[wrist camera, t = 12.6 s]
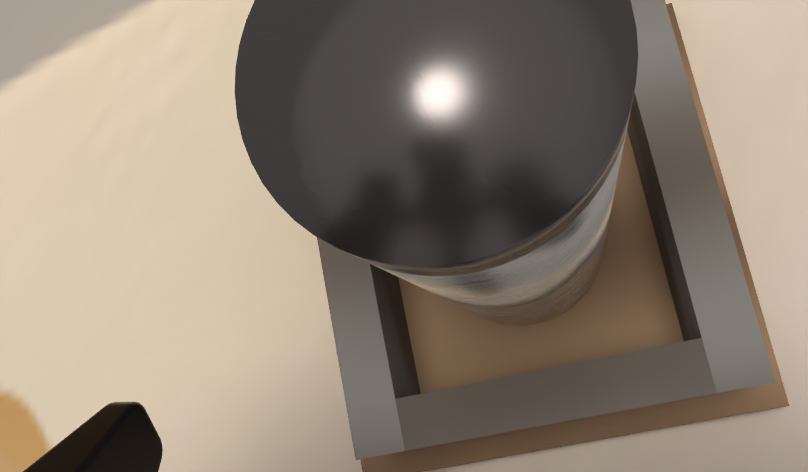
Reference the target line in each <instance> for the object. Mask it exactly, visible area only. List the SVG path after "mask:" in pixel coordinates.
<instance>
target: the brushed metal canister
mask: <svg viewBox="0 0 808 472" xmlns="http://www.w3.org/2000/svg"><path fill="white" fill-rule="evenodd" d="M637 66H638V42H637V28H636V23H635V18H634V14H633V9H632V4H631V1H630V0H255V1H254V4H253V6H252V8H251V11H250V13H249V15H248V18H247V20H246V23H245V27H244V30H243V34H242V37H241V41H240V44H239V51H238V57H237V63H236V74H235V98H236V109H237V118H238V122H239V126H240V130H241V135H242V139H243V142H244V145H245V147H246V150H247V152H248V155H249V158H250V160H251V163H252V165H253V166H254V168H255V170H256V172H257V174H258V175H259V177H260V179H261V181H262V183H263V184H264V186H265V187H266V188H267V190H268V191H269V192H270V194H271V195H272V196H273V198H274V199H275V200H276V202H277V203H278V204H279V205H280V206H281V207H282V208H283V209H284V210H285V211H286V212H287V213H288V214H289V215H290V216H291V217H292V218H293V219H294V220H295V221H296V222H297V223H299V224H300V225H301V226H303V227H304V228H305V229H307V230H308V231H309V232H311V233H312V234H313V235H315V236H316V237H318V238H320V239H322V240H324V241H325V242H327V243H329V244H331V245H333V246H334V247H336V248H338V249H340V250H342V251H345V252H347V253H349V254H351V255H353V256H355V257H357V258H359V259H361V260H364V261H366V262H368V263H370V264H372V265H374V266H376V267H378V268H380V269H383V270H385V271H387V272H389V273H391V274H393V275H395V276H397V277H400V278H402V279H404V280H406V281H408V282H410V283H412V284H414V285H416V286H419V287H421V288H423V289H425V290H427V291H429V292H431V293H433V294H435V295H438V296H440V297H442V298H444V299H446V300H448V301H450V302H452V303H455V304H457V305H459V306H461V307H463V308H465V309H467V310H469V311H471V312H474V313H476V314H478V315H480V316H482V317H484V318H487V319H489V320H492V321H495V322H499V323H503V324H510V325H530V324H536V323H540V322H544V321H547V320H550V319H552V318H554V317H557V316H559V315H561V314H562V313H564V312H566V311H567V310H569V309H570V308H571V307H572V306H574V305H575V304H576V303H577V302H578V301H579V300H580V299H581V298H582V297H583V296H584V295H585V293H586V292H587V291H588V289H589V288H590V287H591V285H592V283H593V281H594V279H595V277H596V275H597V273H598V270H599V267H600V264H601V259H602V255H603V250H604V245H605V240H606V235H607V229H608V224H609V219H610V214H611V209H612V204H613V199H614V194H615V189H616V183H617V178H618V173H619V168H620V163H621V158H622V153H623V148H624V143H625V137H626V132H627V127H628V122H629V117H630V112H631V107H632V102H633V97H634V91H635V86H636V78H637Z"/></svg>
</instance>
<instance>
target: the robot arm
mask: <svg viewBox="0 0 808 472" xmlns="http://www.w3.org/2000/svg"><path fill="white" fill-rule="evenodd" d="M161 459H162V443H161V439H160V437H159V435H158V433H157V431H156V429H155V427H154V426H153V424H152V422H151V420H150V418H149V416H148V414H147V412H146V410H145V408H144V407H143V406H142V405H141V404H140V403H138V402H114V403H110V404H108V405H107V406H105V407H104V408H103V409H101V410H100V411H99V412H97V413H96V414H95V415H94V416H92V417H91V418H90V419H89V420H87V421H86V422H85V423H84V424H82V425H81V426H80V427H79V428H77V429H76V430H75V431H74V432H72V433H71V434H70V435H69V436H67V437H66V438H65V439H64V440H62V441H61V442H60V443H58V444H57V445H56V446H55V447H53V448H52V449H51V450H50V451H48V452H47V453H46V454H45V455H43V456H42V457H41V458H40V459H38V460H37V461H36V462H35V463H33V464H32V465H31V466H30V467H28V468H27V469H26V470H25V471H23V472H158V470H159V467H160V463H161Z"/></svg>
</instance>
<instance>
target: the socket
mask: <svg viewBox="0 0 808 472" xmlns="http://www.w3.org/2000/svg"><path fill="white" fill-rule="evenodd" d="M630 1H631V4H632V9H633V14H634V18H635V23H636V28H637V42H638V66H637V78H636V86H635V91H634V97H633V102H632V107H631V112H630V117H629V122H628V127H627V132H626V137H625V143H624V148H623V153H622V158H621V163H620V168H619V173H618V178H617V183H616V189H615V194H614V199H613V204H612V209H611V214H610V219H609V224H608V229H607V235H606V240H605V245H604V250H603V255H602V259H601V264H600V267H599V270H598V273H597V275H596V277H595V279H594V281H593V283H592V285H591V287H590V288H589V289H588V291H587V292H586V293H585V295H584V296H583V297H582V298H581V299H580V300H579V301H578V302H577V303H576V304H575V305H574V306H572V307H571V308H570V309H569V310H567V311H566V312H564V313H562V314H561V315H559V316H557V317H554V318H552V319H550V320H547V321H544V322H540V323H536V324H530V325H510V324H503V323H499V322H495V321H492V320H489V319H487V318H484V317H482V316H480V315H478V314H476V313H474V312H471V311H469V310H467V309H465V308H463V307H461V306H459V305H457V304H455V303H452V302H450V301H448V300H446V299H444V298H442V297H440V296H438V295H435V294H433V293H431V292H429V291H427V290H425V289H423V288H421V287H419V286H416V285H414V284H412V283H410V282H408V281H406V280H404V279H402V278H400V277H397V276H395V275H393V274H391V273H389V272H387V271H385V270H383V269H380V268H378V267H376V266H374V265H372V264H370V263H368V262H366V261H364V260H361V259H359V258H357V257H355V256H353V255H351V254H349V253H347V252H345V251H342V250H340V249H338V248H336V247H334V246H333V245H331V244H329V243H327V242H325V241H324V240H322V239H320V238H318V237H317V240H318V246H319V251H320V257H321V263H322V268H323V274H324V280H325V286H326V291H327V297H328V303H329V309H330V314H331V320H332V326H333V332H334V337H335V343H336V349H337V355H338V360H339V366H340V372H341V377H342V383H343V389H344V395H345V400H346V406H347V412H348V418H349V423H350V429H351V435H352V441H353V446H354V452H355V458H356V460H359V459H361V464H362V470H363V472H422V471H428V470H433V469H439V468H445V467H450V466H456V465H461V464H467V463H472V462H478V461H484V460H489V459H495V458H500V457H506V456H511V455H517V454H523V453H528V452H534V451H539V450H545V449H550V448H556V447H562V446H567V445H573V444H578V443H584V442H589V441H595V440H601V439H606V438H612V437H617V436H623V435H628V434H634V433H640V432H645V431H651V430H656V429H662V428H667V427H673V426H678V425H684V424H690V423H695V422H701V421H706V420H712V419H717V418H723V417H729V416H734V415H740V414H745V413H751V412H756V411H762V410H768V409H773V408H779V407H784V406H789V403H788V400H787V397H786V393H785V390H784V386H783V383H782V379H781V376H780V373H779V369H778V366H777V362H776V359H775V356H774V352H773V349H772V345H771V342H770V338H769V335H768V332H767V328H766V325H765V321H764V318H763V314H762V311H761V308H760V304H759V301H758V297H757V294H756V290H755V287H754V284H753V280H752V277H751V273H750V270H749V266H748V263H747V260H746V256H745V253H744V249H743V246H742V242H741V239H740V236H739V232H738V229H737V225H736V222H735V218H734V215H733V212H732V208H731V205H730V201H729V198H728V194H727V191H726V188H725V184H724V181H723V177H722V174H721V170H720V167H719V164H718V160H717V157H716V153H715V150H714V146H713V143H712V140H711V136H710V133H709V129H708V126H707V122H706V119H705V116H704V112H703V109H702V105H701V102H700V98H699V95H698V92H697V88H696V85H695V81H694V78H693V74H692V71H691V68H690V64H689V61H688V57H687V54H686V50H685V47H684V44H683V40H682V37H681V33H680V30H679V27H678V23H677V20H676V16H675V13H674V9H673V6H672V3H669V4H666V3H665V0H630Z"/></svg>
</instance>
